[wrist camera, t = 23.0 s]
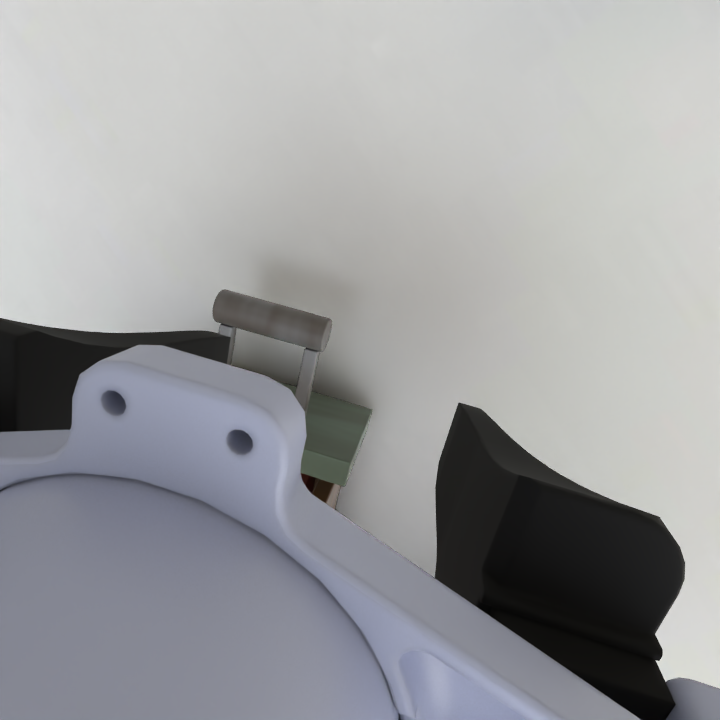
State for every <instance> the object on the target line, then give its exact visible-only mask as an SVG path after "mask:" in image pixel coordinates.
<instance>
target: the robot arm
mask: <svg viewBox="0 0 720 720" xmlns="http://www.w3.org/2000/svg"><path fill="white" fill-rule="evenodd" d="M230 339H231V337H228V336H225V335H221V334H218V333H214V332H209V331H173V332H150V333H102V332H86V331H77V330H68V329H59V328H51V327H44V326H38V325H32V324H27V323H22V322H16V321H11V320H7V319H2V318H0V720H720V689H719V688H716V687H713V686H710V685H707V684H704V683H701V682H698V681H695V680H691V679H685V678H675V679H671V680H668V681H667V682H665V680H664V678H663V676H662V674H661V672H660V669H659V667H658V665H657V663H656V661H655V660H658V661H659V660H660V659H661V657H662V648H661V646H660V644H659V642H658V640H657V638H656V636H655V633H656V631H657V629H658V628H659V626H660V624H661V623H662V621H663V619H664V618H665V616H666V614H667V613H668V611H669V609H670V608H671V606H672V604H673V603H674V601H675V599H676V598H677V596H678V594H679V592H680V589H681V587H682V584H683V582H684V577H685V562H684V559H683V555H682V552H681V549H680V547H679V545H678V544H677V542H676V541H675V539H674V538H673V536H672V535H671V533H670V532H669V531H668V529H667V528H666V526H665V525H664V523H663V522H662V520H661V519H660V517H658V516H655V515H652V514H650V513H647V512H644V511H641V510H638V509H635V508H632V507H630V506H627V505H624V504H621V503H618V502H616V501H613V500H611V499H609V498H606V497H604V496H602V495H600V494H597V493H595V492H593V491H591V490H589V489H587V488H584V487H582V486H580V485H578V484H577V483H575V482H573V481H571V480H569V479H567V478H566V477H564V476H562V475H560V474H559V473H557V472H555V471H554V470H552V469H551V468H549V467H548V466H546V465H545V464H543V463H542V462H540V461H539V460H537V459H536V458H535V457H533V456H532V455H531V454H529V453H528V452H527V451H526V450H524V449H523V448H522V447H521V446H520V445H519V444H517V443H516V442H515V441H514V440H513V439H512V438H511V437H510V436H508V435H507V434H506V433H505V432H504V431H503V430H502V429H501V428H500V427H499V426H498V425H497V424H496V423H495V422H494V421H493V420H492V419H491V418H490V417H489V416H488V415H487V414H486V413H485V412H484V411H483V410H481V409H479V408H476V407H473V406H469V405H466V404H462V403H458V406H457V409H456V412H455V415H454V418H453V421H452V424H451V427H450V430H449V433H448V436H447V439H446V442H445V445H444V448H443V451H442V454H441V457H440V460H439V465H438V472H437V480H436V530H437V562H436V572H435V578H434V577H432V576H431V575H429V574H428V573H426V572H425V571H423V570H422V569H421V568H419V567H418V566H416V565H415V564H413V563H412V562H410V561H409V560H407V559H406V558H404V557H403V556H402V555H400V554H399V553H397V552H396V551H394V550H393V549H391V548H390V547H388V546H387V545H386V544H384V543H383V542H381V541H380V540H378V539H377V538H375V537H374V536H372V535H371V534H369V533H368V532H367V531H365V530H364V529H362V528H361V527H359V526H358V525H356V524H355V523H353V522H352V521H351V520H349V519H348V518H346V517H345V516H343V515H342V514H340V513H339V512H337V511H336V510H334V509H333V508H332V507H330V506H329V505H327V504H326V503H324V502H323V501H321V500H320V499H318V498H317V497H315V496H314V495H313V494H311V493H310V492H309V490H308V489H307V487H306V486H305V484H304V482H303V481H302V477H301V460H302V455H303V451H304V446H305V441H306V437H307V435H306V420H305V411H304V410H303V408H302V407H301V405H300V404H299V402H298V400H297V399H296V397H295V396H294V394H293V393H292V391H291V390H290V389H289V388H287V387H285V386H283V385H282V384H280V383H278V382H276V381H275V380H273V379H271V378H270V377H268V376H265V375H262V374H259V373H255V372H252V371H248V370H245V369H241V368H238V367H235V366H231V365H228V364H227V360H228V353H229V346H230Z"/></svg>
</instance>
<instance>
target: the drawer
mask: <svg viewBox="0 0 720 720" xmlns="http://www.w3.org/2000/svg"><path fill="white" fill-rule="evenodd" d="M213 318H214V320H215V321H216V322H218V323H222V324H220V327H219V334H221V335H225V336H228V337H231V339H230V346H229V353H228V360H227V364H228V365H231V362H232V355H233V349H234V342H235V335H236V328H239V329H243V330H246V331H250V332H253V333H257V334H260V335H264V336H267V337H271V338H274V339H278V340H281V341H285V342H288V343H292V344H295V345H299V346H302V347H306V348H305V349H304V354H303V359H302V364H301V369H300V374H299V379H298V383H297V387H295V386H292V385H288V384H285V383H281V382H278V381H276V382H278V383H280V384H282V385H283V386H285V387H287V388H289V389H290V390H291V391H292V393H293V394H294V396H295V397H296V399H297V400H298V402H299V404H300V405H301V407H302V408H303V410H304V411H305V420H306V435H307V437H306V441H305V446H304V451H303V455H302V460H301V473H302V474H305V475H309V476H312V477H315V478H316V479H315V483H314V487H313V492H312V494H313V495H314V496H315V497H317V498H318V499H320V500H321V501H323V502H324V503H326V504H327V505H329V506H330V507H332V508H333V509H334V510H335V506H336V502H337V498H338V495H339V491H340V487H341V486H343V487H344V486H345V485H346V483H347V480H348V478H349V475H350V473H351V470H352V467H353V465H354V462H355V460H356V457H357V455H358V452H359V449H360V447H361V444H362V442H363V439H364V436H365V434H366V431H367V429H368V425H369V421H370V418H371V414H372V409H369V408H366V407H362V406H359V405H356V404H352V403H349V402H346V401H342V400H339V399H335V398H332V397H329V396H325V395H322V394H319V393H315V392H312V386H313V381H314V377H315V372H316V368H317V363H318V358H319V354H320V352H323V351H324V349H325V348H326V345H327V343H328V340H329V337H330V333H331V328H332V320H331V319H330V318H326V317H322V316H319V315H315V314H312V313H308V312H304V311H301V310H297V309H294V308H290V307H286V306H283V305H279V304H276V303H272V302H268V301H265V300H261V299H258V298H254V297H251V296H247V295H243V294H240V293H236V292H233V291H229V290H222V291H220V292H219V294H218V295H217V297H216V299H215V302H214V305H213Z"/></svg>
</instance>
